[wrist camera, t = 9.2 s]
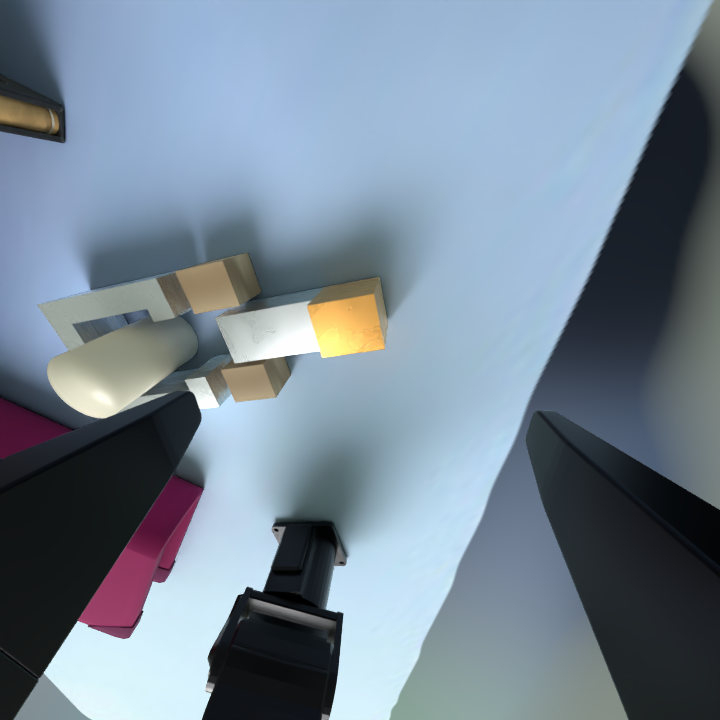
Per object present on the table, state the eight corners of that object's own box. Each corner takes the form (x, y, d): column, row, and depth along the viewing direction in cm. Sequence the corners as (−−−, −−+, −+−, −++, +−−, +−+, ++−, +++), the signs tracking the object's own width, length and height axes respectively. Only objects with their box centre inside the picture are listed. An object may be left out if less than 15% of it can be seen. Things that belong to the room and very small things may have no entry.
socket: (243, 379, 23) (219, 406, 20) (150, 392, 25) (115, 418, 22) (194, 266, 20) (155, 278, 17) (89, 290, 21) (37, 304, 18)
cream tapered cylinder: (162, 364, 24) (77, 421, 17) (135, 316, 22) (31, 360, 16) (207, 357, 23) (134, 414, 17) (182, 306, 21) (92, 349, 15)
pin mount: (291, 374, 23) (276, 397, 20) (254, 379, 23) (235, 402, 21) (247, 252, 19) (222, 260, 16) (205, 262, 19) (174, 271, 17)
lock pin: (387, 322, 20) (384, 349, 16) (255, 343, 22) (226, 371, 18) (379, 276, 18) (373, 293, 15) (239, 303, 20) (204, 324, 17)
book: (-87, 344, 27) (-252, 392, 20) (210, 480, 30) (154, 559, 23) (-52, 482, 36) (-155, 545, 30) (171, 573, 40) (123, 648, 33)
